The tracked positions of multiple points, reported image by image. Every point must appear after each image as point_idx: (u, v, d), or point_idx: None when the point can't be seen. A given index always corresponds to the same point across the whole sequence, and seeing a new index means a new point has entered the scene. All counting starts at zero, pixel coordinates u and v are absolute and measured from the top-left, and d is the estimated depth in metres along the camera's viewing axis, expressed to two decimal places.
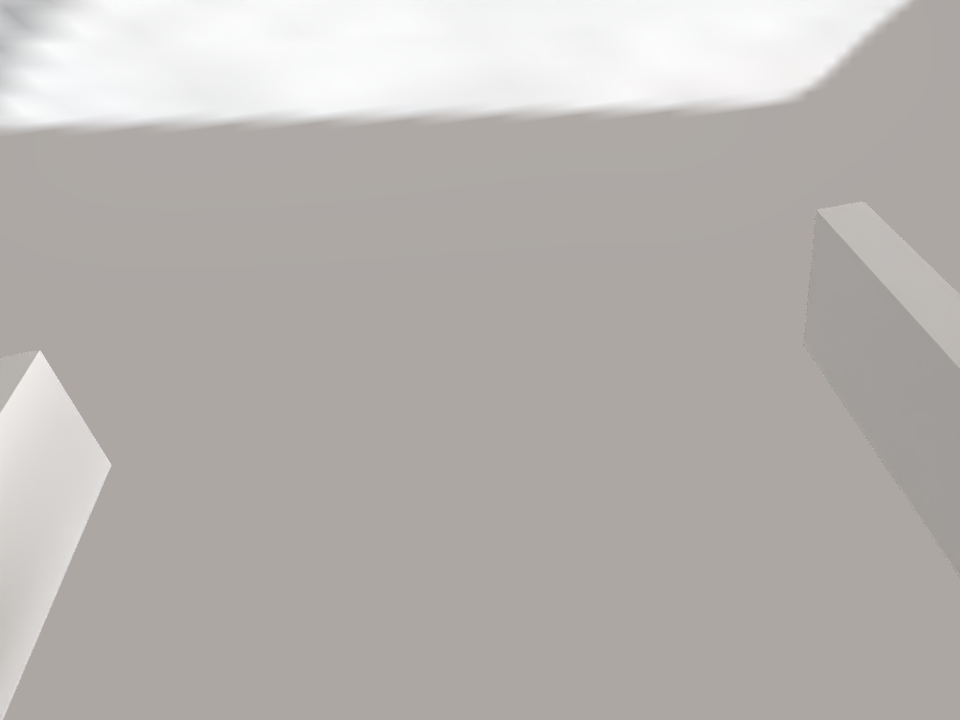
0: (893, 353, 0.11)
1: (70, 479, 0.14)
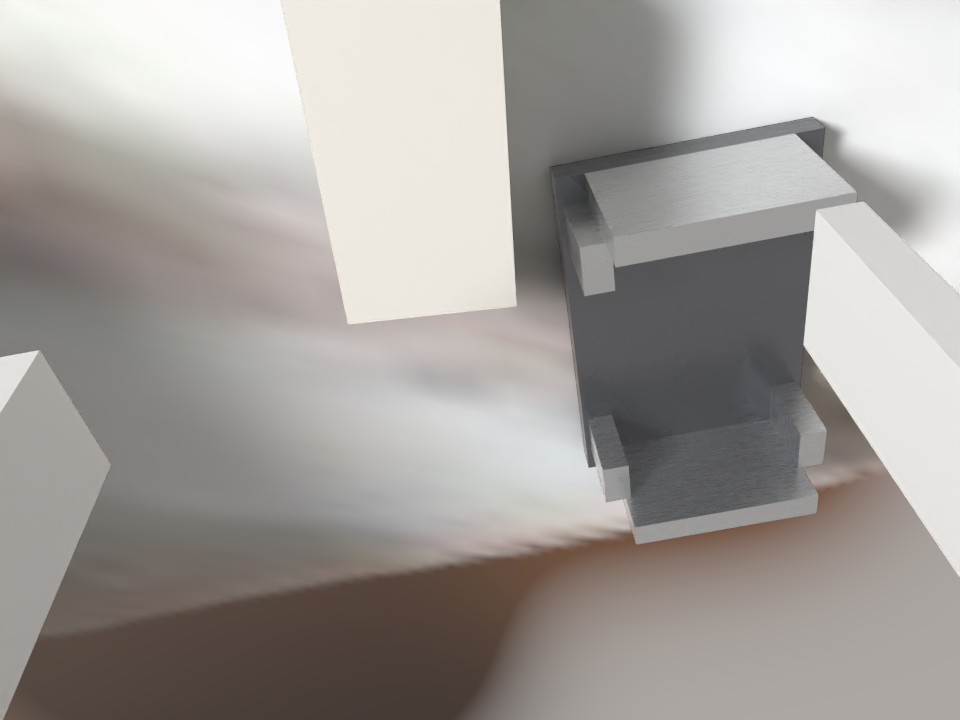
0: (893, 353, 0.11)
1: (70, 479, 0.14)
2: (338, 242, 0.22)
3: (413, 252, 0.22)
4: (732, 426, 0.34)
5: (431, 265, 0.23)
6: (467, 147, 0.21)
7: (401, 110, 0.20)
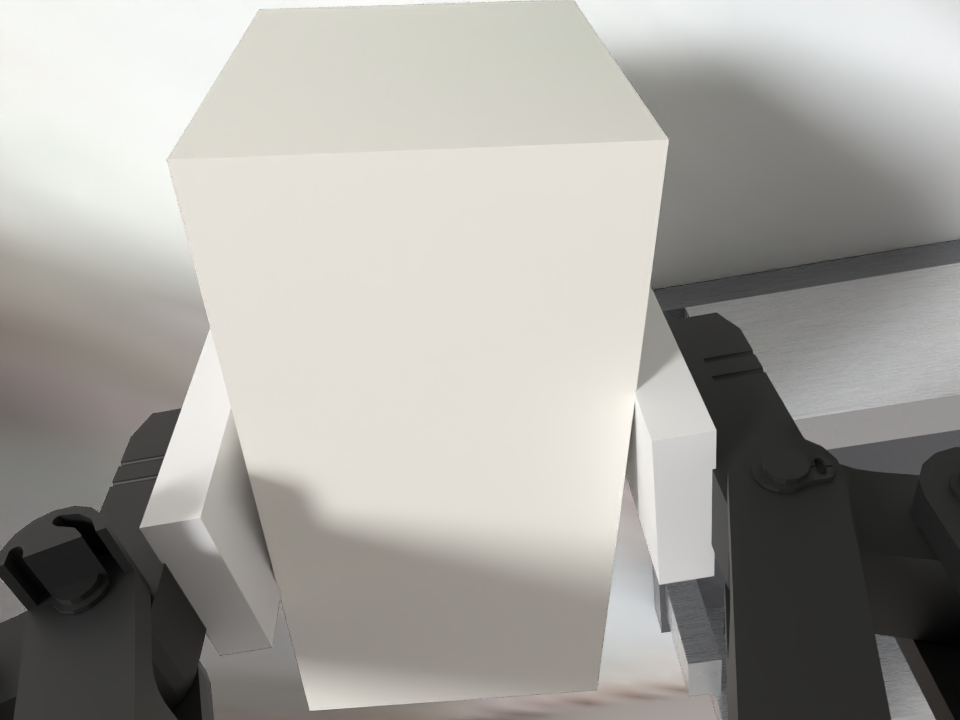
0: None
1: None
2: (298, 613, 0.12)
3: (431, 626, 0.13)
4: None
5: (460, 643, 0.13)
6: (548, 492, 0.11)
7: (430, 437, 0.10)
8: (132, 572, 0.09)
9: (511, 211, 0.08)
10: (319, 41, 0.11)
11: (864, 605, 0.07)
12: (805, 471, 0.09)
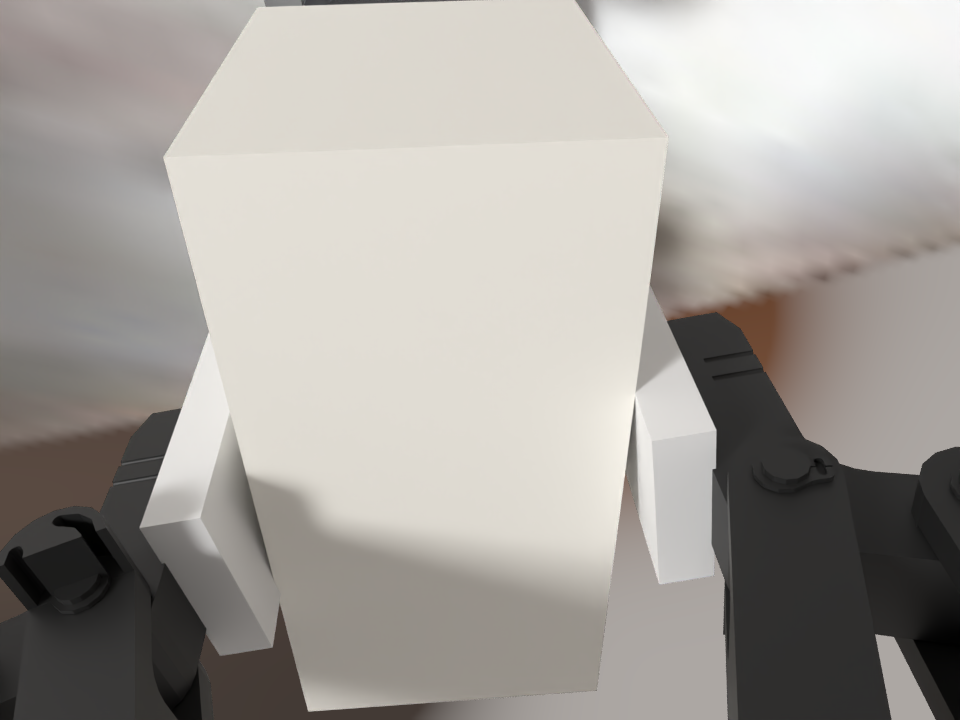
0: None
1: None
2: (296, 613, 0.12)
3: (430, 626, 0.13)
4: None
5: (459, 643, 0.13)
6: (547, 492, 0.11)
7: (428, 436, 0.10)
8: (132, 572, 0.09)
9: (510, 209, 0.08)
10: (317, 39, 0.11)
11: (864, 605, 0.07)
12: (805, 471, 0.09)
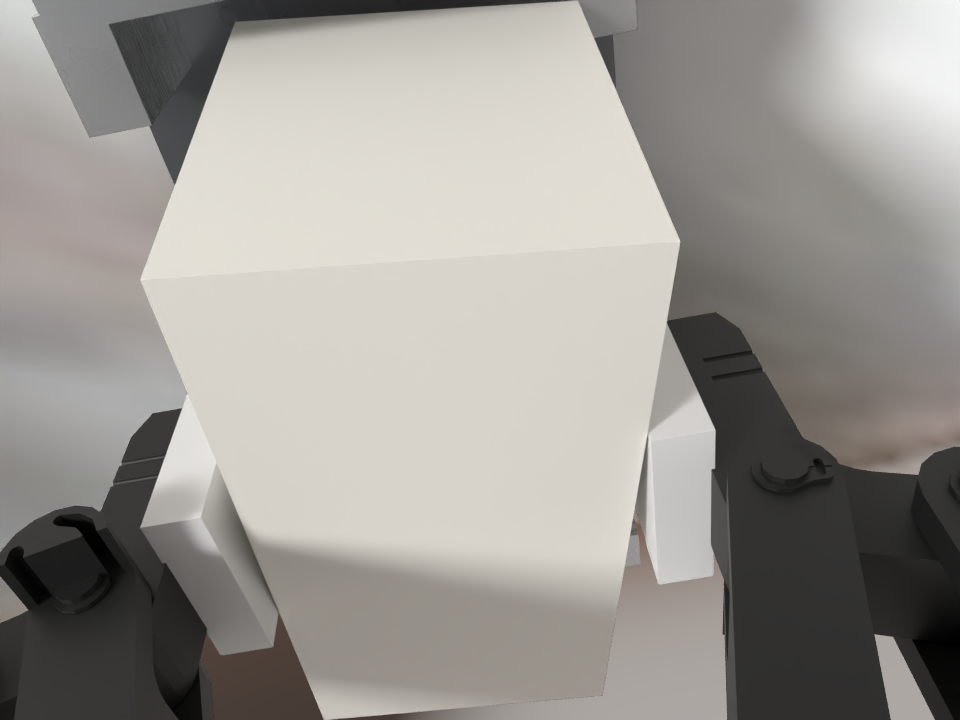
0: None
1: None
2: (308, 648, 0.12)
3: (439, 653, 0.13)
4: None
5: (468, 665, 0.13)
6: (552, 546, 0.11)
7: (432, 505, 0.10)
8: (133, 572, 0.09)
9: (511, 311, 0.08)
10: (301, 76, 0.10)
11: (863, 605, 0.07)
12: (804, 471, 0.09)
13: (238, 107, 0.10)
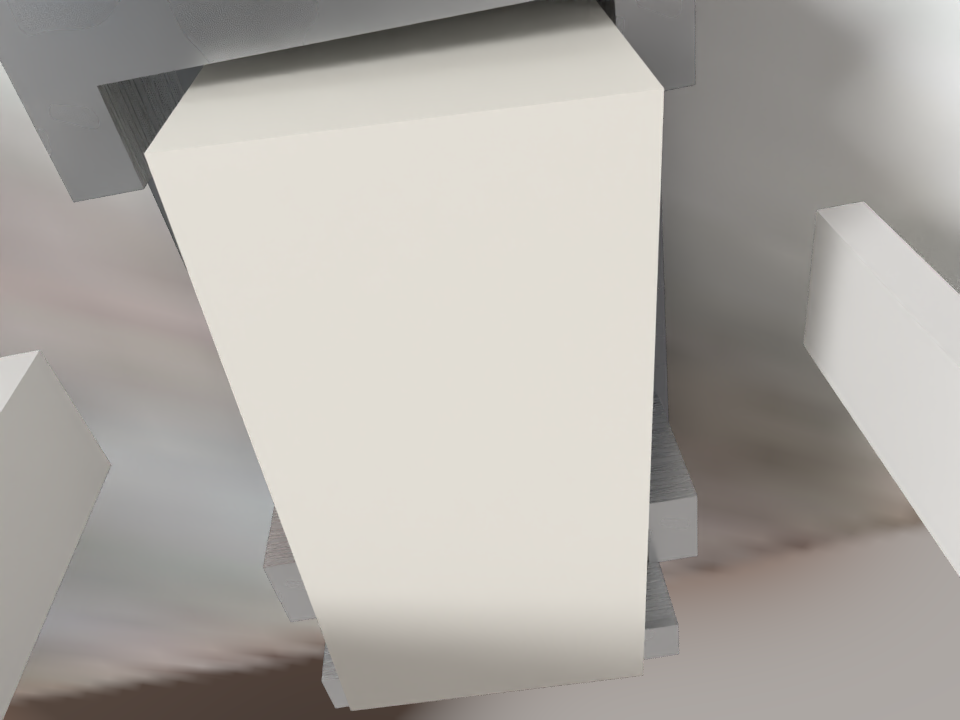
0: (893, 353, 0.11)
1: (70, 479, 0.14)
2: (329, 613, 0.12)
3: (465, 618, 0.12)
4: None
5: (497, 634, 0.13)
6: (572, 473, 0.11)
7: (444, 423, 0.10)
8: None
9: (503, 179, 0.08)
10: None
11: None
12: None
13: None
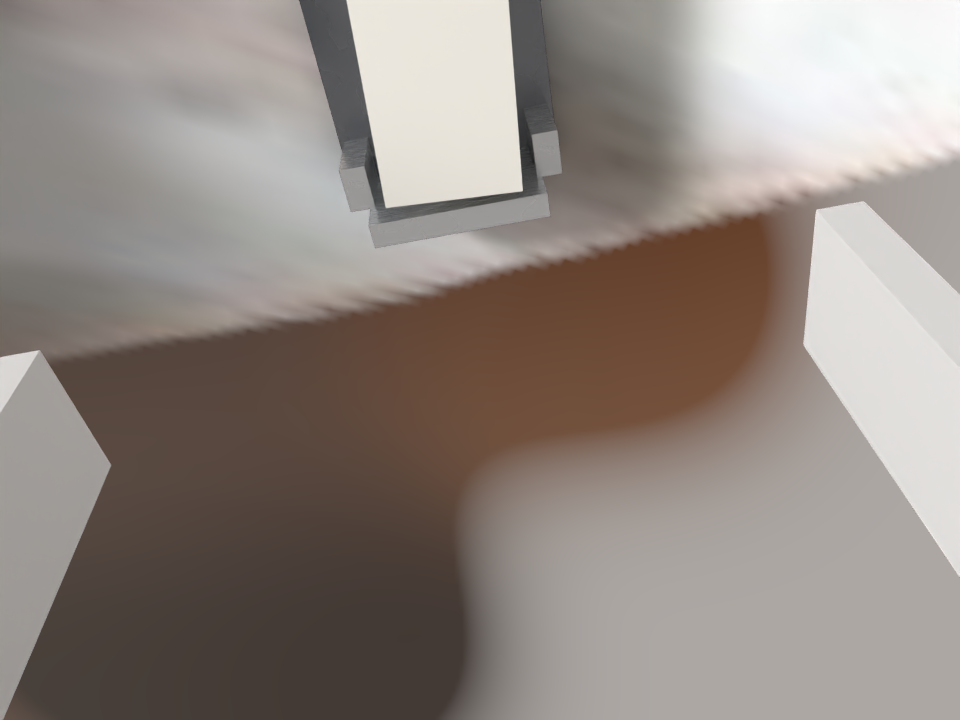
0: (892, 353, 0.11)
1: (70, 479, 0.14)
2: (378, 135, 0.28)
3: (438, 143, 0.28)
4: None
5: (452, 155, 0.28)
6: (480, 52, 0.26)
7: (427, 21, 0.25)
8: None
9: None
10: None
11: None
12: None
13: None
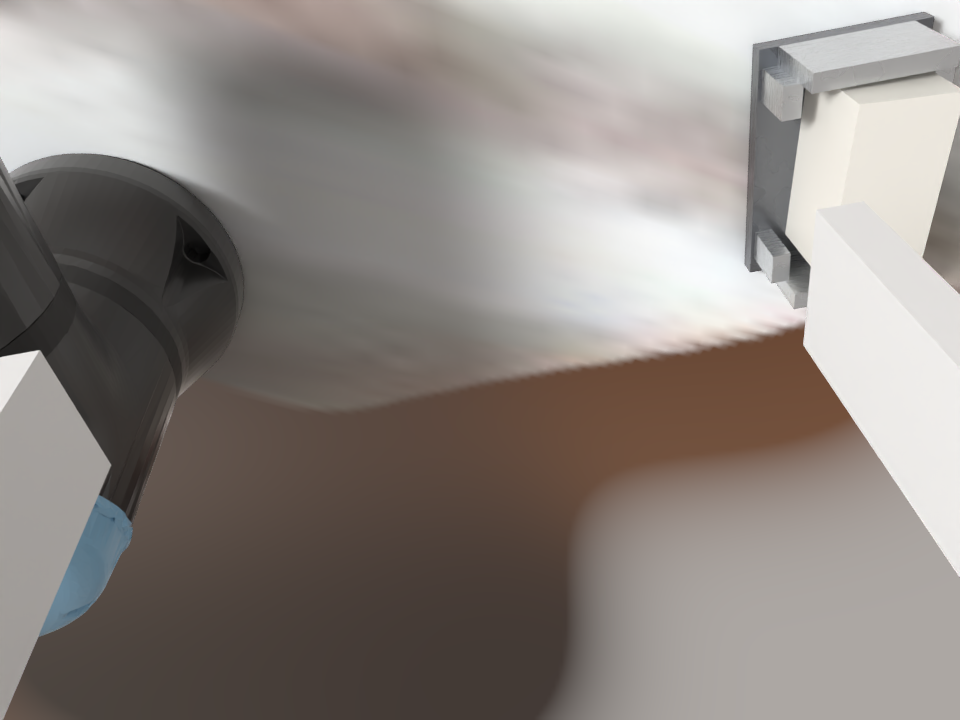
0: (893, 353, 0.11)
1: (70, 479, 0.14)
2: None
3: None
4: None
5: None
6: (919, 192, 0.41)
7: (893, 174, 0.40)
8: None
9: (928, 110, 0.38)
10: None
11: None
12: None
13: None
